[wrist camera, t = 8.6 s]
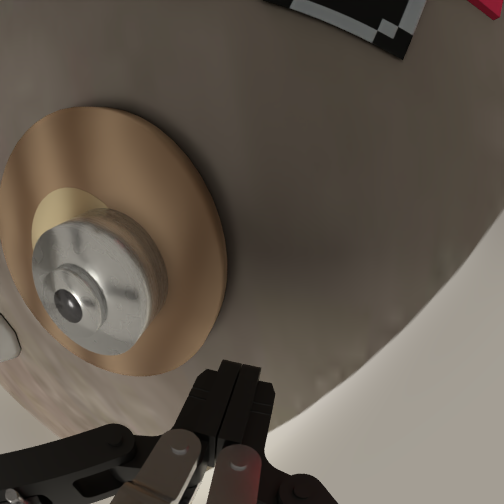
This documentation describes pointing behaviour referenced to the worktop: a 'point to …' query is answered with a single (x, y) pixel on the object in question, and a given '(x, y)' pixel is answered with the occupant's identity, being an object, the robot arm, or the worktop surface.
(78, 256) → the cover
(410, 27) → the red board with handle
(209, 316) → the turntable
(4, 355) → the flask
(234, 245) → the worktop surface
